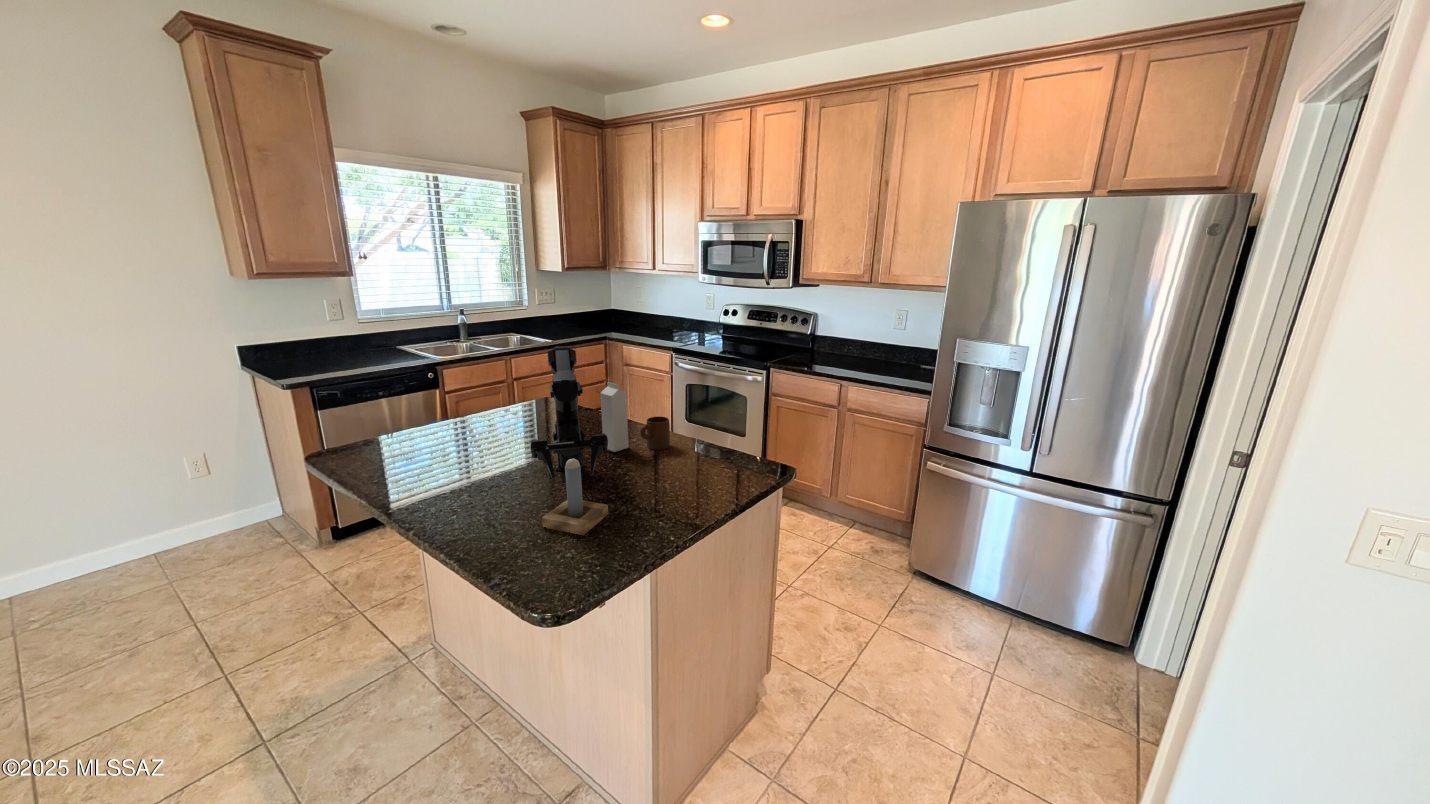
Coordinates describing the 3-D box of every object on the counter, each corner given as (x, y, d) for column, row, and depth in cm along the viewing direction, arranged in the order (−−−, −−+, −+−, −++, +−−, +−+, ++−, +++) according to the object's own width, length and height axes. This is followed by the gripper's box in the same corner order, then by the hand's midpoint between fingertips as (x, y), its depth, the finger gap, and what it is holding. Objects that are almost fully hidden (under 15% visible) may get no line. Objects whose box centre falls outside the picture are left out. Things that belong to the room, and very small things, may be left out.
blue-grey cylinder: (566, 520, 127) (561, 459, 123) (578, 515, 130) (574, 455, 126) (574, 525, 125) (569, 463, 121) (586, 520, 128) (582, 458, 123)
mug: (650, 456, 168) (649, 428, 166) (633, 451, 172) (632, 423, 170) (674, 445, 178) (674, 418, 175) (657, 441, 182) (656, 414, 179)
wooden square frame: (542, 527, 124) (541, 517, 123) (570, 506, 134) (569, 497, 133) (583, 535, 121) (582, 525, 120) (608, 513, 131) (607, 504, 130)
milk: (614, 452, 171) (610, 386, 165) (602, 447, 175) (599, 383, 169) (629, 447, 176) (626, 383, 169) (617, 443, 179) (614, 379, 173)
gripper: (602, 431, 148) (609, 483, 141) (532, 437, 143) (535, 492, 136) (604, 412, 139) (611, 468, 132) (529, 418, 133) (532, 476, 126)
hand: (572, 476), depth 132 cm, fingers open, 9 cm apart
